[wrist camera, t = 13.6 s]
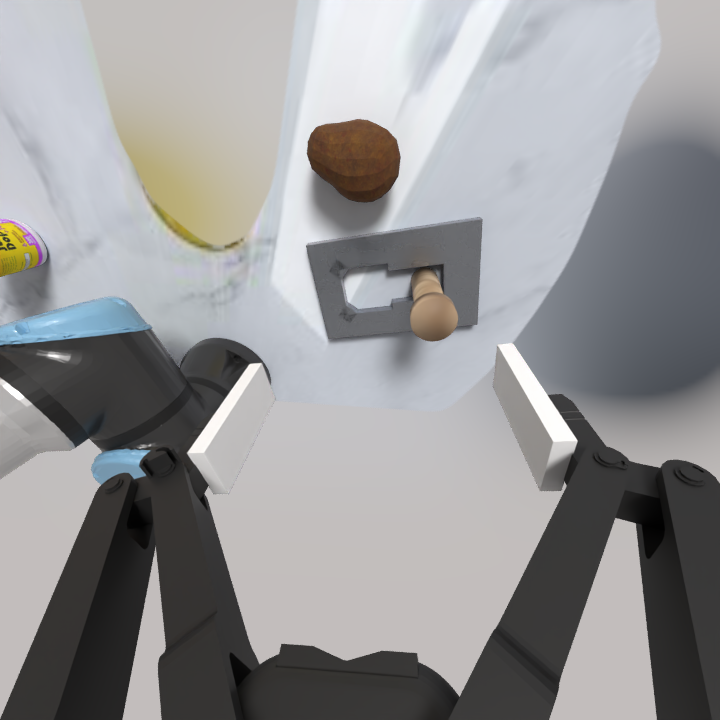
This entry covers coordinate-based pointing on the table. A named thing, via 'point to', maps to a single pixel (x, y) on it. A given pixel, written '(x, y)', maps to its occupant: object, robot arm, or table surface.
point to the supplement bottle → (19, 247)
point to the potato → (355, 158)
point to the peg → (431, 307)
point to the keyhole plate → (401, 251)
